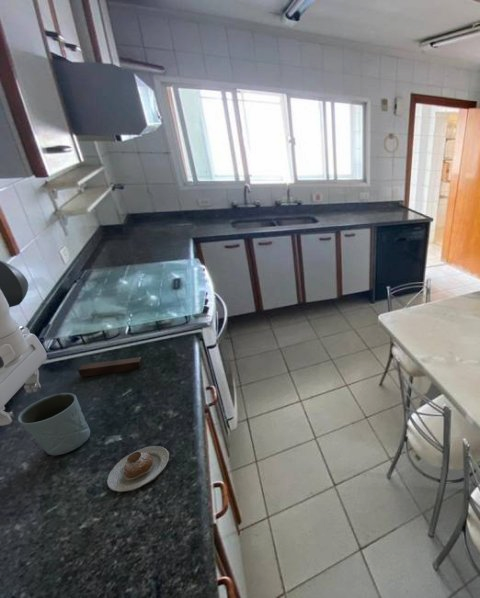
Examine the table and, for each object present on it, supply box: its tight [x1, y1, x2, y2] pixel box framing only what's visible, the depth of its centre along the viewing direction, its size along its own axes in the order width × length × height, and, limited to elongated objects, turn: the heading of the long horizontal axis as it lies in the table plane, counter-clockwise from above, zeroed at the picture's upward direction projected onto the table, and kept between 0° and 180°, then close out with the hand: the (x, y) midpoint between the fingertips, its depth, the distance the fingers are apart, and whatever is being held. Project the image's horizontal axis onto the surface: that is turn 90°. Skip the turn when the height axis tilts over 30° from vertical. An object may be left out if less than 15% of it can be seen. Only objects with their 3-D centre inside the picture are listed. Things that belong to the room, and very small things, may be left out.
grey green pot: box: [17, 392, 91, 456], centre depth 82 cm, size 10×10×12 cm
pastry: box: [106, 445, 170, 493], centre depth 78 cm, size 12×12×5 cm
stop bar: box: [77, 356, 143, 378], centre depth 110 cm, size 16×3×3 cm, turn 112°
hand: (21, 405), depth 66 cm, fingers open, 8 cm apart
